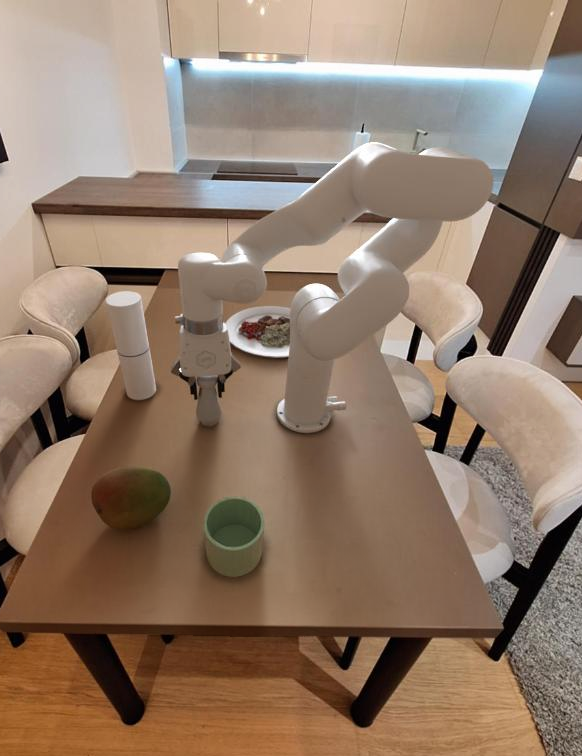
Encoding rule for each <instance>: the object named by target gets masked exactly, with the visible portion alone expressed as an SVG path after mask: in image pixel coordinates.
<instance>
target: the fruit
mask: <svg viewBox="0 0 582 756" xmlns="http://www.w3.org/2000/svg"><path fill="white" fill-rule="evenodd" d="M170 485H171V484H170V483H169V481H168V479H167V478H166V476H165V475H164V474H163V473H161V472H159V471H156V470H153V469H149V468H143V467H139V466H122V467H117V468H114V469H111V470H110V471H108V472H106V473H104V474H102V476H100V477H99V478H98V479H97V480H96V481H95V483H94V484H93V486H92V488H91V493H90V497H91V504H92V506H93V510H94V511H95V512H96V514H97V516H98V517H99V518H100V519H101V521H102V522H103V523H104V524H105V525H106V526H107V527H109V528H111V529H114V530H120V531H127V530H132V529H136V528H140V527H143V526H145V525H147V524H149V523H150V522H152V521H153V520H155V519H156V518H157V517H158V516H159V515H160V514H161V513H162V512H163V511H164V510H165V509H166V507H167V506H168V504H169V502H170V499H171V494H172V492H171V491H172V490H171V486H170Z"/></svg>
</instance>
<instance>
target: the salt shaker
mask: <svg viewBox="0 0 582 756" xmlns="http://www.w3.org/2000/svg"><path fill="white" fill-rule="evenodd" d="M217 377H218V376H217V375H211V376H198V377H196V384H197V387H199V388H198V393H197V397H198V399H197V400H196V401H197V402H196V408H195V415H196V418H197V420H198V421H199V422H200V423H201V425H202V426H204V427H213V426H215V425H217V424H218V423H219V421H220V419H221V417H222V414H223V411H222V408H221V407H222V406H221V403H220V400H219V397H218V391H217V389H216V388H217V387H216V386H217Z"/></svg>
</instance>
